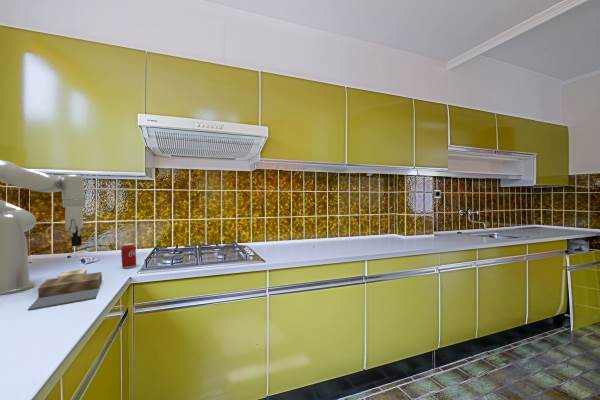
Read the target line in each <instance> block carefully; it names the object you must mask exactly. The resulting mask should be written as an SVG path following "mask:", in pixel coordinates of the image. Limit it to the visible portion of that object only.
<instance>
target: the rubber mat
mask: <svg viewBox="0 0 600 400" xmlns="http://www.w3.org/2000/svg"><path fill="white" fill-rule="evenodd" d="M99 289H100V288H98V289H92V290H86V291H80V292H73V293H67V294H61V295H55V296H49V297H42V298H39V297H38V298H37V299H36V300H34V302H33V303H32V304H31V305H30V306H29V307H28V308H27V311H29V312H30V311H35V310H39V309H45V308H51V307H57V306H62V305H68V304H74V303H79V302H84V301H90V300H96V299H97V296H98V292H99Z"/></svg>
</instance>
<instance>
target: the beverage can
mask: <svg viewBox="0 0 600 400" xmlns="http://www.w3.org/2000/svg"><path fill="white" fill-rule="evenodd" d="M120 249H121V250H120V253H121V267H122V268H123V269H133V268H135V267H136V266H137V250H136V249H137V248H136V245H135V243H134V242H132V243H131V242H128V243H124V244H122V246H121V247H120Z"/></svg>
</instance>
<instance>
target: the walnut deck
mask: <svg viewBox="0 0 600 400" xmlns="http://www.w3.org/2000/svg"><path fill="white" fill-rule="evenodd" d="M102 282H103V276H102V271H99V272H92V273H87V275H86V277H85V279H82V280H75V281H69V282H62V283H58V277H56V278H49V279H46V280H44V282H43V283H41V285H40V286H39V287H38V289H37V291H38V298H42V297H49V296H55V295H61V294H67V293H73V292H80V291H86V290H92V289H98V288H99V289H100V288H101V285H102Z"/></svg>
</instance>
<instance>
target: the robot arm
mask: <svg viewBox="0 0 600 400" xmlns="http://www.w3.org/2000/svg"><path fill="white" fill-rule="evenodd" d="M0 183H4V184H6V185H11V186H14V187H19V188H22V189H26V190H27V189H28V190H30V191H34V192H38V193H39V192H40V193H59V192H61V199H62V200H61V201H62V208H65V209H64V221H65V222H64V225H65V227H64V228H65V231H70V235H71V236H70V237H71V238H70V239H71V240H70V242H71V246H72V247H79V246H82V244H83V243H82V235H81V233H82V231H81V229H82V228H84V217H83V215H84V214H83V207H86V199H85V183H84V177H83V175H81V174H75V173H74V174H63V175H57V174H50V173H45V172H41V171H36V170H32V169H29V168H25V167H23V166H19V165H17V164H15V163H14V162H11V161H8V160H4V159H0ZM36 224H37V218H36V217H35V215H34V214H33V213H31V212H30V211H28V210H26V209H24V208H22V207H19V206H17V205H14V204H12V203H10V202H8V201H5V200H3V199H0V295H8V294H14V293H19V292H23V291H27V290H29V289H32V288H33V287H35V285H36V283H35V282H34V281H30V269H29V268H30V266H29V249H28V240H27V237H26V234H25V232H28V231H31V230H32V229H33V228H34V227H35V226H36Z"/></svg>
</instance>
